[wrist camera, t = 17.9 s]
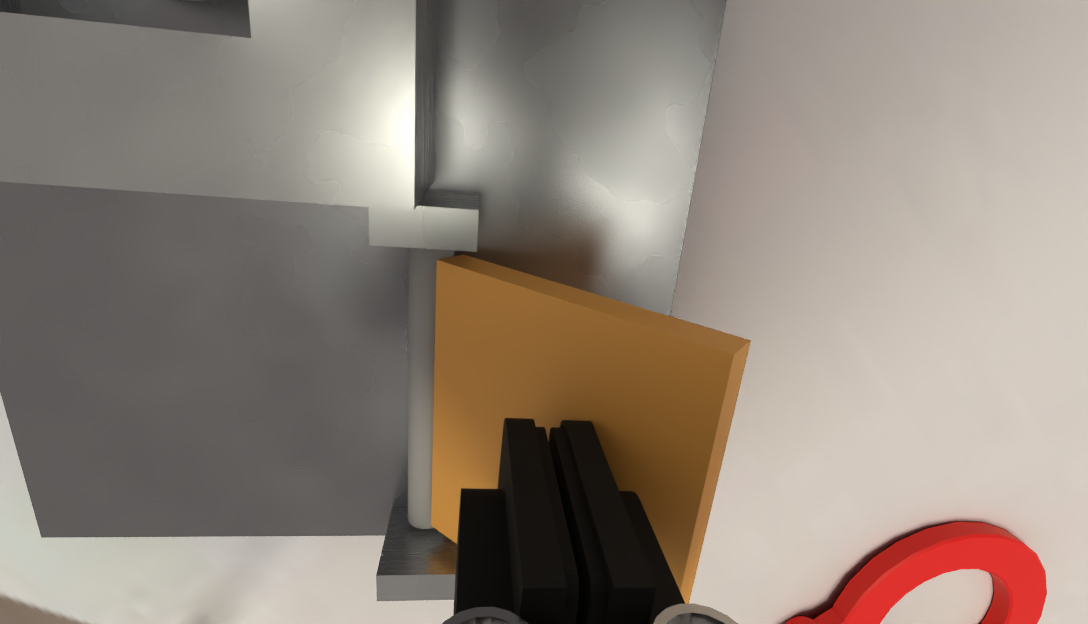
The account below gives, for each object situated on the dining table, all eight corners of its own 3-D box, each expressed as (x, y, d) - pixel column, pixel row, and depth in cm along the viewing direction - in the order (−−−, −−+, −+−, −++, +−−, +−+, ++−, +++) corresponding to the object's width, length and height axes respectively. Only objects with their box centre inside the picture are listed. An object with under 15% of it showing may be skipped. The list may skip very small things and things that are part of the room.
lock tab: (399, 236, 12) (735, 337, 8) (433, 231, 13) (756, 321, 9) (399, 516, 14) (653, 702, 10) (428, 498, 15) (675, 665, 11)
